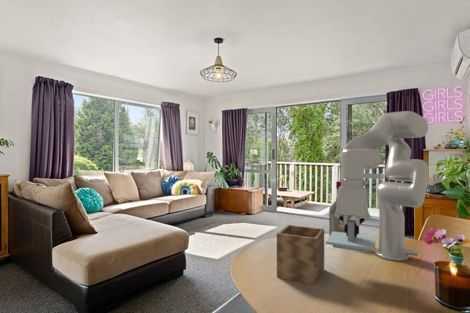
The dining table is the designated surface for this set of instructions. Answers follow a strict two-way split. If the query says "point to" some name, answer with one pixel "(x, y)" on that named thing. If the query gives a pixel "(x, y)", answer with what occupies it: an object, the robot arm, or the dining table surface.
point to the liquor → (335, 222)
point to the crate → (300, 254)
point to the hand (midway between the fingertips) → (351, 235)
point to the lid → (352, 240)
